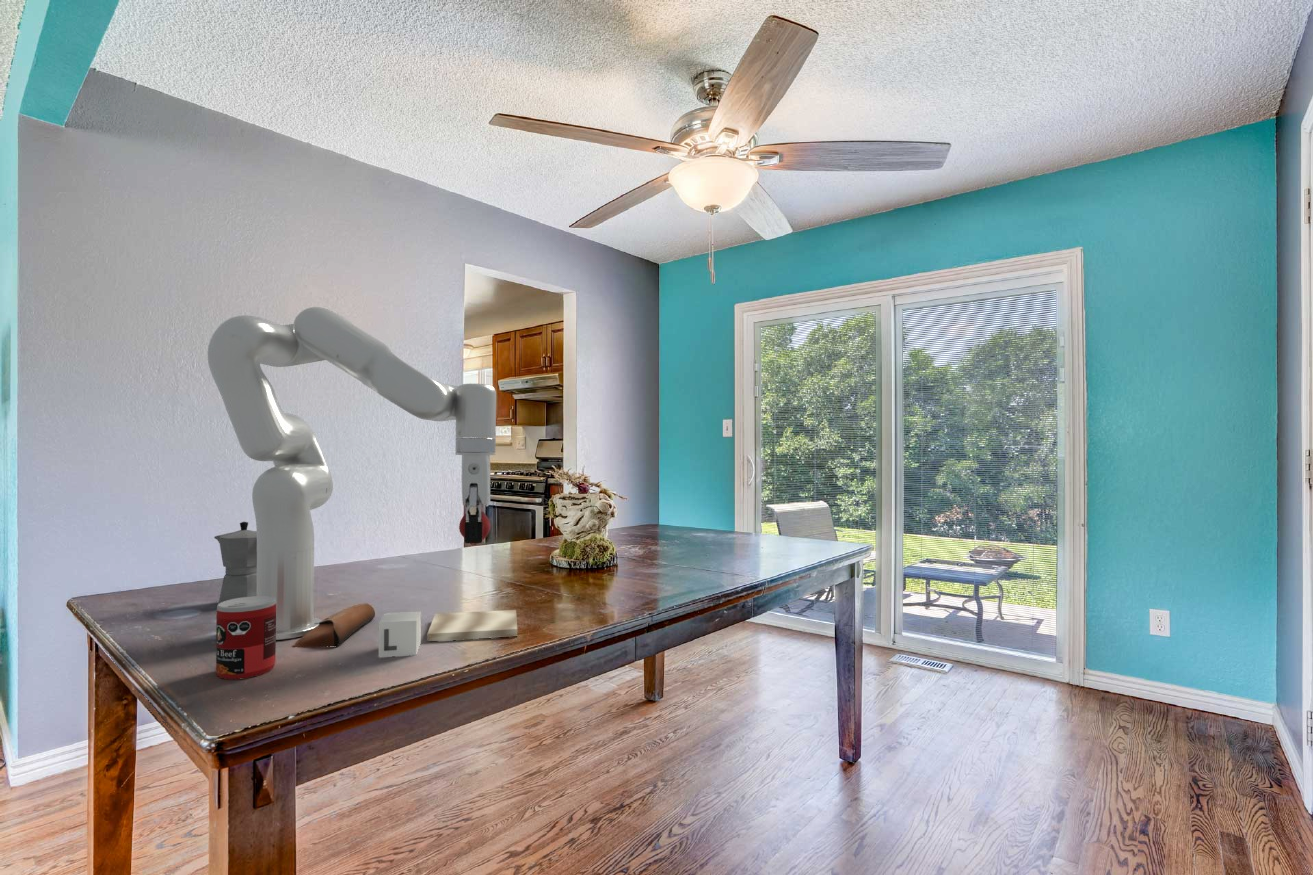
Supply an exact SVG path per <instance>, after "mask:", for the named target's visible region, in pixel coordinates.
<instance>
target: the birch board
mask: <svg viewBox="0 0 1313 875" xmlns="http://www.w3.org/2000/svg"><path fill="white" fill-rule="evenodd" d="M498 636H517V637H518V618H517V609H508V610H507V609H506V610H486V611H483V610H481V611H463V612H462V611H461V612H443V613H434V617H433V619H432V621H431V623H430V626H429V628H428V631H427V633H426V642H427V641H438V642H451V641H452V642H453V640H456V641H464V640H463V639H473V640H480V639H479V638H489V637H498Z"/></svg>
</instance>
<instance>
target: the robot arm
mask: <svg viewBox="0 0 1313 875" xmlns="http://www.w3.org/2000/svg"><path fill="white" fill-rule="evenodd" d="M207 361H208V362H207V364H208V368H209V370H210V373H211V376H212V378H213V381H214V383H215V384H216V388H217V391H218V392H219V393H220V397H221V399H222V401H223V403H224V404H223V405H224V407H225V410H226V412H227V415H228V418H229V420H230V422H231V425H232V427H233V429H234V432H235V435H236V438H237V440H238V443H239V445H240V448H241V449H242V451H243V453H244V454H245V456H247V457H248V458H250V459H252V460H254V461H258V462H272V463H273V465H274V466H273V467H270V468H268V469H266V470H265V471H263V472H262V473H260V475H259V476H258V477H257V479H256V480H255V483H254V484H253V488H252V496H251V498H252V500H251V501H252V506H253V511H254V516H255V527H256V531H257V592H256V596H268V597H273V598H275V599H276V641H279V640H288V639H289V640H290V639H294V638H301V637H303V636H304V635H305V634H307V633H308V632H309V631H311V630H312V629H314V628H315V627H317V626H318V625H319V622H321V621H323V620H322V619H321V618H318V617H315V616H314V607H315V606H314V602H315V601H314V600H315V599H314V598H315V595H314V594H315V589H314V588H315V530H314V524H313V519H312V515H311V511H312V510H314V509H317V508H320V507H322V506H323V505H325V504H326V503H327V501H328V500H329V499H330V497H331V496H332V493H333V489H334V488H333V487H334V482H333V477H332V474H331V472H330V469H329V467H328V464H327V461H326V459H325V457H324V454H323V452H322V448H321V446H320V444H319V442H318V441H319V440H318V439H317V436H316V434H315V432H314V430H313V429H312V427H311V426H310V424H309V423H308V422H307V421H305V420H304V418H302V417H300V416H298V415H295V414H293V413H292V414H291V413H285V412H284V411H283V408H282V407H281V405H280V403H279V401H278V398H277V396H276V392H275V390H274V388H273V385H272V384H271V382H270V380H269V378H268V377H267V376H266V374H265V373H264V372H263V370H262V367H261V365H265V366H268V367H269V366H270V367H276V368H287V367H293V366H300V365H305V364H311V363H317V362H322V361H327V362H328V363H331V364H332V365H333V366H335V367H337V368H339V369H340V370H342V371H343V372H345V373H346V374H348V375H350V376H351V377H353V378H355V379H356V380H357V381H359V382H361V383H362V384H363V385H364V386H365V387H368V388H369V389H371V390H373V391H374V392H375V393H377V394H378V395H380V396H381V397H383V398H384V399H386V400H387V401H388V402H391V403H392V404H394V405H395V406H397V407H399V408H401V409H402V410H404V411H405V412H407V413H409V414H411V415H412V416H414V417H416V418H418V419H421V420H423V421H425V420H426V421H432V422H433V421H434V422H446V421H447V422H448V421H455V450H454V451H455V453H454V455H455V456H461V498H462V505H463V507H465V509H466V510H465V514H466V522H465V538H464V543H465V544H470V543H478V544H482V542H483V540H482V522H481V511H483V512H484V505H485V508H486V507H489V505H490V504H491V456H496V436H497V435H496V434H497V433H496V432H497V430H496V429H497V428H496V426H497V425H496V424H497V422H496V420H497V416H496V415H497V391H496V388H495V387H494V386H493V385H490V384H486V383H463V384H460V385H451V384H448V383H447V384H446V383H443V382H440V381H437V380H435V379H433V378H432V377H429V376H428V375H426V374H425V373H422V372H421V371H419V370H418V369H416V368H415V367H413V366H412V365H410V364H408V363H406V362H405V361H404V360H402V359H401V358H399V357H398V356H397V355H395V354H394V353H393V352H392V350H391V348H390V347H389V346H388V345H387V344H385V343H384V342H382V341H381V340H379V339H377V338H376V337H374V336H372V335H371V334H369V333H368V332H366V331H364V330H363V329H361V328H359V327H358V326H355V325H354V323H353V322H351V321H350V319H349V318H347V317H344V316H343V315H342V314H341V315H340V314H339V313H336V312H334V311H332V310H330V309H328V308H325V307H320V306H313V307H308V308H305V309H303V310H302V311H300V312H299V313H298V314H297V316H296V317H295V319H294V320H293V323H290V324H283V325H282V324H279V323H277V322H274V321H271V320H269V319H266V318H263V317H259V316H254V315H247V314H245V315H237V316H232V317H230V318H228V319H226V320H224V321H223V322H222V323H221V324H220V325H219V326H218V327H217V328H216V329H215V331H214V332H213V334H212V335H211V338H210V339H209V344H208V348H207Z"/></svg>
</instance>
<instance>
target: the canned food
mask: <svg viewBox="0 0 1313 875" xmlns="http://www.w3.org/2000/svg"><path fill="white" fill-rule="evenodd" d="M218 603H219V602H218ZM215 619H216V625H215V626H216V629H215V630H216V631H215V632H216V633H215V638H216V640H215V642H216V644H215V672H216V675H217V677H218V676H219V677H218V678H219V679H222V678H226V679H225V680H229V679H234V680H241V679H240V678H245V679H248V677H251V678H253V677H252V676H255V677H257V676H256V675H259V676H261V674H262V675H265V674H266V672H267V673H269V672H270V671H272V670H273V669H274V668H275V664H276V656H277V655H276V652H277V650H276V648H277V647H276V646H277V642H276V641H277V640H276V599H275V598H273V597H268V596H252V597H242V598H236V599H231V600H227V601H224V602H221V603H219V604H217V605H216V618H215ZM268 671H269V672H268ZM264 673H265V674H264Z"/></svg>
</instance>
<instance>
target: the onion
mask: <svg viewBox="0 0 1313 875" xmlns="http://www.w3.org/2000/svg"><path fill="white" fill-rule="evenodd" d="M465 522H466V513H465V514H464V515H463V516H462V518H461V519H460V521H459V527H458V529H459V533H460V535H461V537H463V538H464V539H465ZM481 522H482V541H484V540H485V539H486V538H487V537H488V536H489V533H490V531H491V523H490V522H491V521H490V518H488V516H487V514H486V513H485V512H484V510H483V511H481ZM478 544H479V543H469V545H472V546H477V545H478Z"/></svg>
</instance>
